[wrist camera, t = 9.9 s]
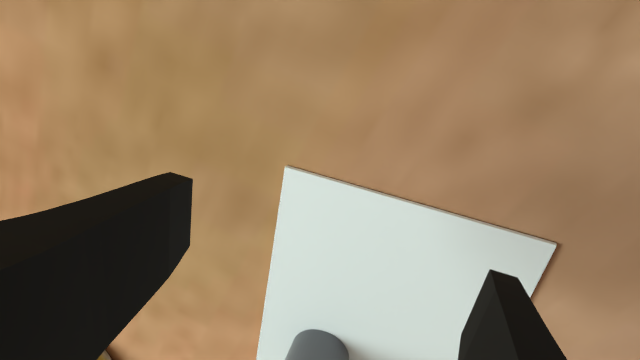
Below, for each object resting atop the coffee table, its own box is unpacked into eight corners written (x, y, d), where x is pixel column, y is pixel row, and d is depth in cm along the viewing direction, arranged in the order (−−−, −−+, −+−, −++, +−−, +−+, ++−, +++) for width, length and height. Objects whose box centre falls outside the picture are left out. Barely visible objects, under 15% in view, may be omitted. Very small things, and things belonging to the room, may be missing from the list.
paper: (555, 242, 20) (556, 245, 20) (455, 441, 27) (455, 444, 27) (286, 165, 22) (285, 166, 22) (255, 369, 29) (254, 371, 29)
